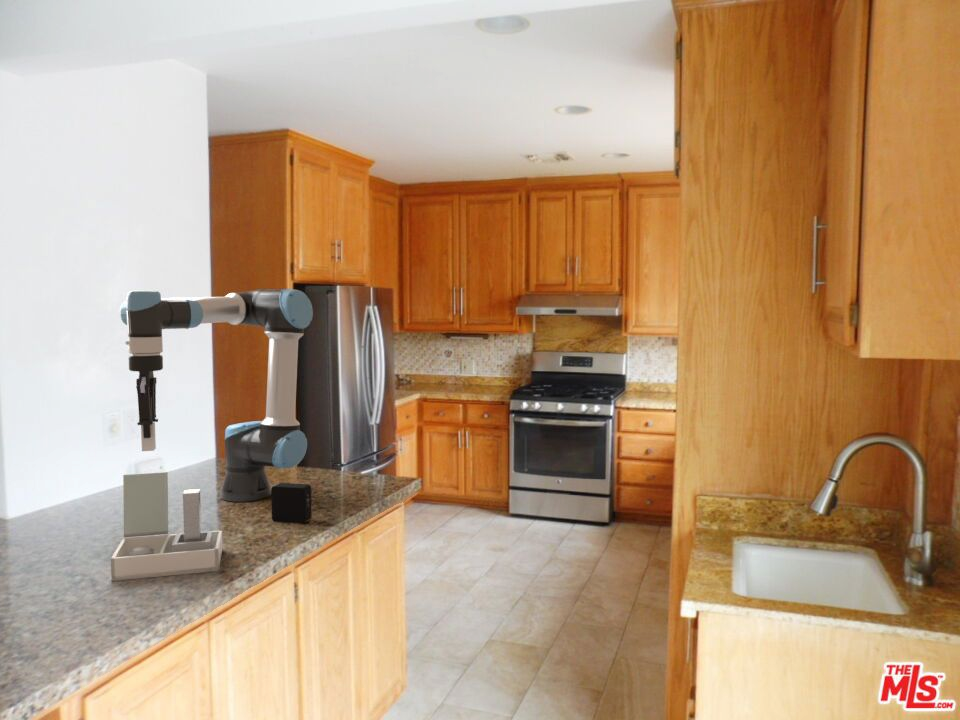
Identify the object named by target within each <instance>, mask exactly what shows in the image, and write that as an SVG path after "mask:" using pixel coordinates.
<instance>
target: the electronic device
mask: <svg viewBox="0 0 960 720" xmlns="http://www.w3.org/2000/svg"><path fill="white" fill-rule="evenodd" d="M270 496H271V497H270V498H271V502H270V503H271V521H272V522H274V523H276V522H277V523H288V524H289V523H290V524H298V525H299V524H305V523H306V522H308V521H309V520H311V519H312V486H311V484H307V483H304V484H303V483H290V482H280V483H276V484H275V485H273V486H271V495H270Z"/></svg>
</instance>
